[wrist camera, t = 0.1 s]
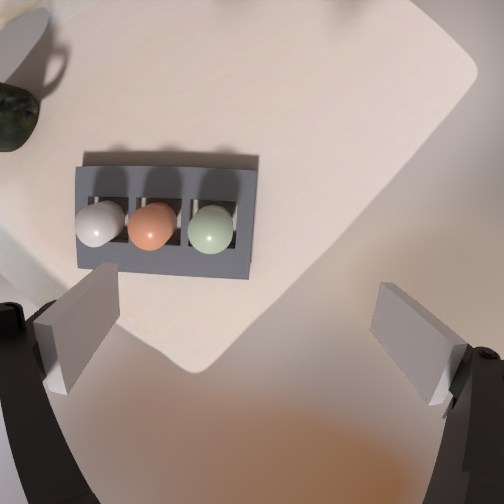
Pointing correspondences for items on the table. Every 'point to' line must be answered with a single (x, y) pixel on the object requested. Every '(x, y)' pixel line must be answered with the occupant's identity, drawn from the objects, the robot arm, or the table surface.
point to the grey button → (99, 223)
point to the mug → (16, 116)
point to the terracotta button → (152, 225)
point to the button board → (186, 188)
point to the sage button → (211, 229)
